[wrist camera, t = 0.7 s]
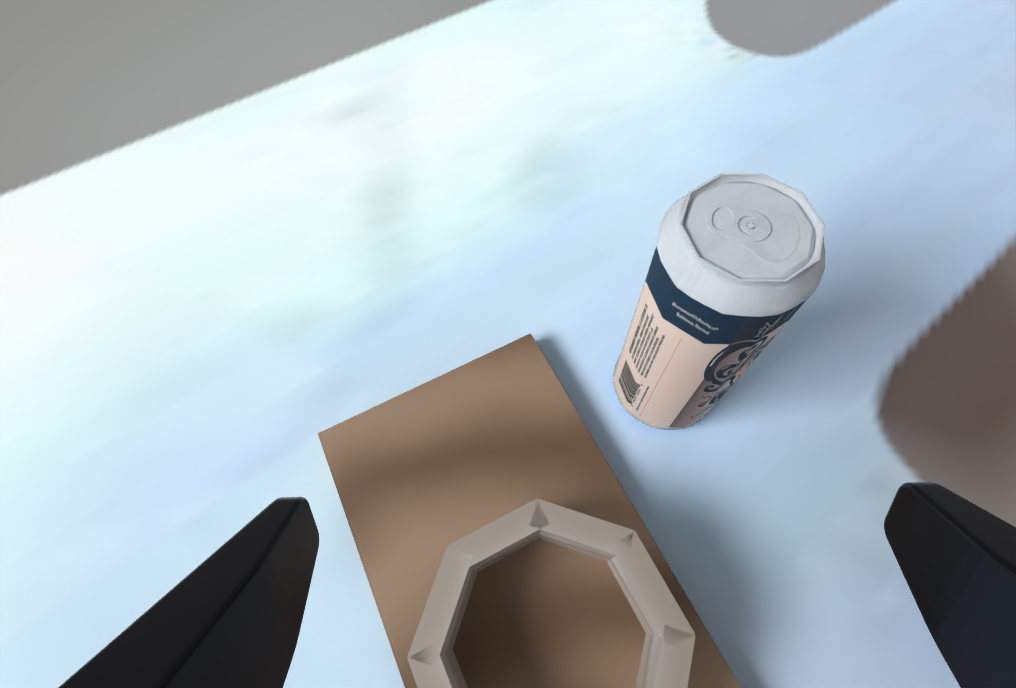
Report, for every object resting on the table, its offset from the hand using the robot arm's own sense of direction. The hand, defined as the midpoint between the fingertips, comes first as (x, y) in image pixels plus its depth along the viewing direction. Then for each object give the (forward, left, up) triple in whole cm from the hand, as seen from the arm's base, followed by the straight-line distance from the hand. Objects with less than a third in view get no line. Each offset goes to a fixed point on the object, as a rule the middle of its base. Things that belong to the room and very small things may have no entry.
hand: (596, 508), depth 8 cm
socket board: (-2, +2, -16) cm, 16 cm away
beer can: (+5, -8, -16) cm, 19 cm away
